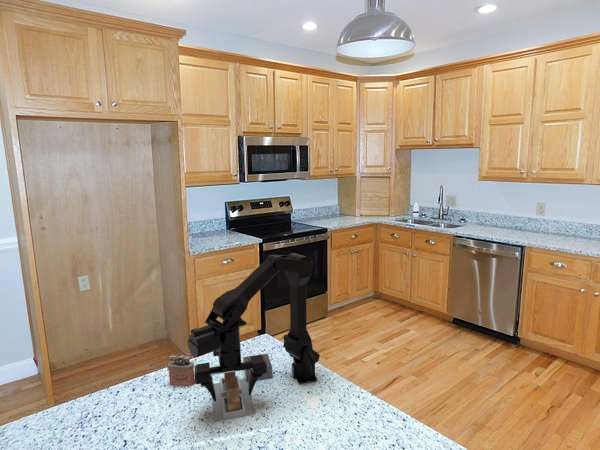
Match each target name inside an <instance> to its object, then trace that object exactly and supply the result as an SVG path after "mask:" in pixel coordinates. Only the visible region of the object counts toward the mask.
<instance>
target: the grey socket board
mask: <svg viewBox="0 0 600 450" xmlns="http://www.w3.org/2000/svg"><path fill="white" fill-rule="evenodd" d="M235 376H236V378H237V381H238V386H239V399H240V410H238V411H232V412H228V405H227V391H226V389H225V378H224V377H219V382H215V383H213V384H214V389H215V393H216V401H214V399H213V398H212V397H211V403H212V418H213V420H212V421H213V423H217V422H221V421H222V422H223V421H227V420H232V419H233V420H234V419H238V418H245V417H250V416H254V415H256V409H255V405H254V401H253V396H252V394H251V395H250V396H249V392H248V385H249V382H247V381H246V378H242V379H240V375H235Z"/></svg>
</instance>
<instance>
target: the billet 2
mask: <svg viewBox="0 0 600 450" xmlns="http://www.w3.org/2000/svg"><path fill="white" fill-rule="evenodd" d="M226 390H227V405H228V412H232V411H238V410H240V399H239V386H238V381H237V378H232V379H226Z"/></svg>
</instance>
